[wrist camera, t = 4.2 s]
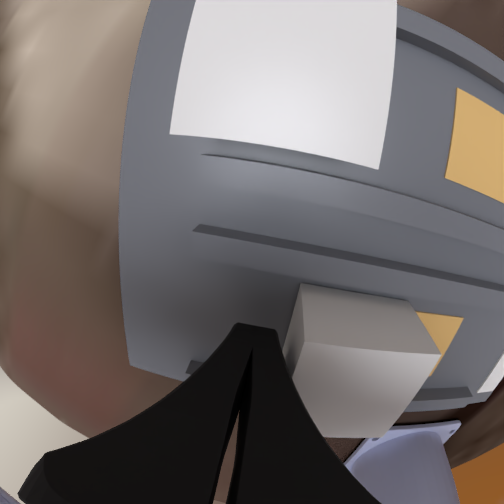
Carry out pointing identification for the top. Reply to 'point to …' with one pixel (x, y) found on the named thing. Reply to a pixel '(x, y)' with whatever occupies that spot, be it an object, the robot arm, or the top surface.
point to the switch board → (319, 214)
